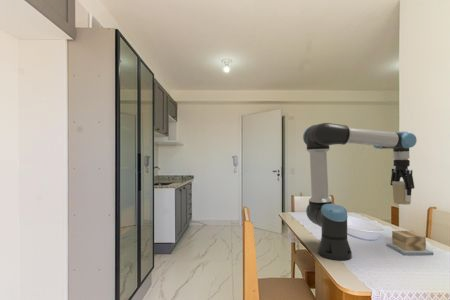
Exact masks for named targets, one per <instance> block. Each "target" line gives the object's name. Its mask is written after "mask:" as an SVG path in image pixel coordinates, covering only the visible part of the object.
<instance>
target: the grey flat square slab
mask: <svg viewBox="0 0 450 300" xmlns="http://www.w3.org/2000/svg"><path fill="white" fill-rule="evenodd" d="M385 244H386V246H387V248H388V247H389V249H390V248H391V249H392V250H393V251H396V252H398V253H399V254H401V255H402V256H434V252H433V251H431V250H428V249H426V251H404V250H402V249H401V248H399V247H397V246H395V245H393V244H392V243H390V242H387V243H385Z"/></svg>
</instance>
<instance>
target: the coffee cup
mask: <svg viewBox="0 0 450 300" xmlns="http://www.w3.org/2000/svg"><path fill="white" fill-rule="evenodd" d="M391 186H392V196H393V203H394V204H395V205H396V204H397V205H407V206H408V205H409V206H410V205H411V202H412V200H411V201H405V188H406V187H405V183H404V181H403V180H400V181H393V182H392V185H391Z"/></svg>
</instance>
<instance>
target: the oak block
mask: <svg viewBox="0 0 450 300" xmlns="http://www.w3.org/2000/svg"><path fill="white" fill-rule="evenodd" d="M391 231H392V232H391V235H392V237H391V238H392V239H391V242H392V244H393V245H395V246H397V247H399V248H401V249H402V250H404V251H426V250H427V242H426V241H427V240H426V238H427V236H425V235H423V234H420V233H418V232H414V231H412V230H391Z"/></svg>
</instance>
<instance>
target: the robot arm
mask: <svg viewBox="0 0 450 300" xmlns="http://www.w3.org/2000/svg"><path fill="white" fill-rule="evenodd" d="M302 140H303V142H304V144H305V145H306V151H307V152H308V153H309V164H310V165H309V166H310V184H311V185H310V186H311V187H310V188H311V197H310V198H309V200H308V205H307V207H306V208H305V209H306V210H305V213H306V217H307V218H308V220H309V221H310V222H312V224H314V225H317V226H319V227H320V228H321V237H320V240H319V244H318V247H317V254H319V256H321V257H322V258H325V259H329V260H335V261H347V260H348V261H349V260H350V259H352V257H353V255H352V249H351V246H350V244H349V241H348V240H349V239H348V211H347V209H346V207H345V206H342V205H340V204H336V203H332V202H333V200H332V199H331V198H330V197H329V181H328V180H329V177H328V158H327V157H328V153H327V152H329V150H330V146H332V145H333V146H335V145H341V146H343V145H347V144H356V145H367V146H372V147H373V148H375V149H379V150H382V149H383V150H385V149H386V150H389V149H390V150H391V149H392V150H393V152H392V154H393V156H392V158H393V167H395V168H391V176H390V178H391V179H390V186H392V182H393V181H401V178H402V181H404V183H405V187H406V188H405V201H411V202H412V190H413V189H415V183H414V177H413V169H409V167H411V166H410V148H413V147H415V145H416V144H417V136H416V135H415V134H414V133H413V132H408V131H395V132H394V131H392V132H391V131H385V130H375V129H365V128H355V127H354V128H353V127H350V126H349V125H346V124H338V123H332V122H322V123H317V124H313V125H310V126H308V127H307V128H306V129H305V130H304V132H303V135H302Z"/></svg>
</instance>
